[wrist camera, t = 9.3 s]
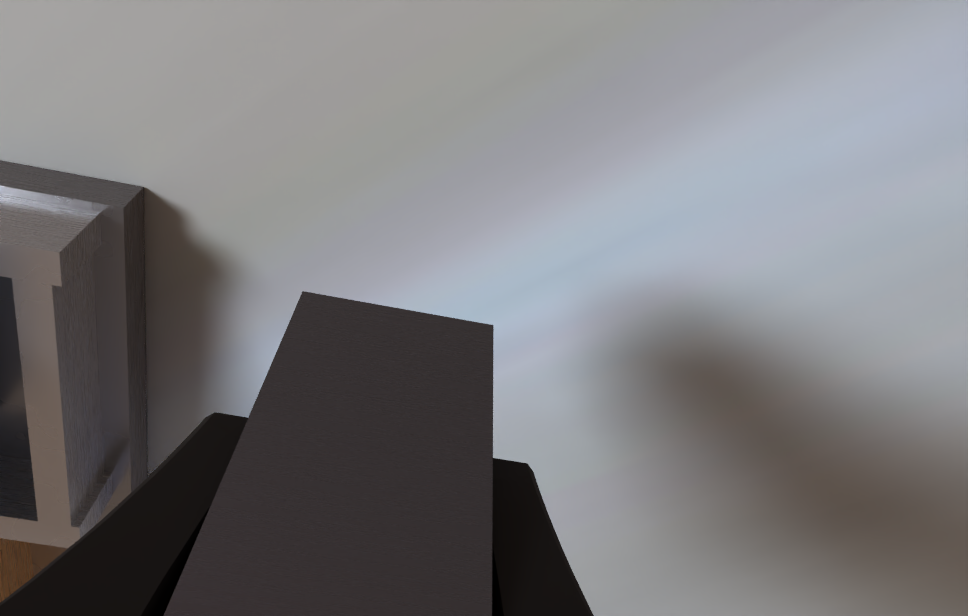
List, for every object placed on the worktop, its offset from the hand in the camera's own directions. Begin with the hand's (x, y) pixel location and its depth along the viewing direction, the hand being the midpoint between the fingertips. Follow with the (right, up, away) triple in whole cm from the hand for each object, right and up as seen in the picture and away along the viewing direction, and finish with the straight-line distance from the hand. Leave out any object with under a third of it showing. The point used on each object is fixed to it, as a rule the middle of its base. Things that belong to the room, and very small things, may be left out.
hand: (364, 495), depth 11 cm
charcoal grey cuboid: (0, +1, +2) cm, 2 cm away
